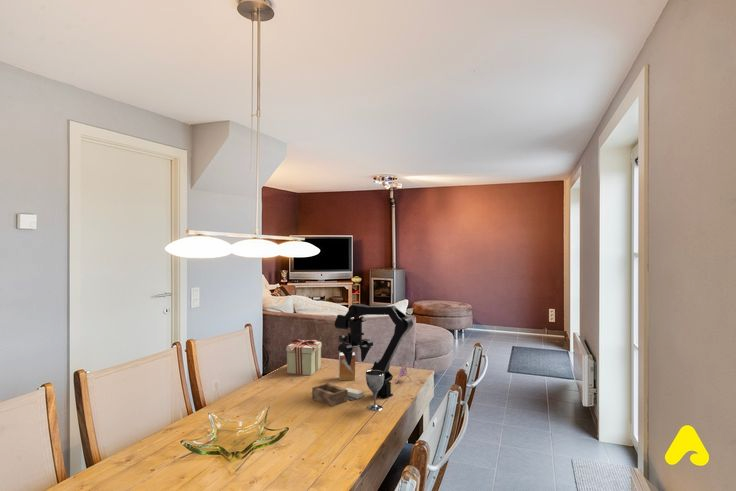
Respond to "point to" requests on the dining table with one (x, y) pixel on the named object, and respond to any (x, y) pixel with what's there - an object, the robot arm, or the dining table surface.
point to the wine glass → (374, 386)
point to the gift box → (303, 357)
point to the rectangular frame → (329, 394)
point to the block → (354, 393)
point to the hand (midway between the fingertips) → (355, 363)
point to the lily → (403, 372)
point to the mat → (352, 398)
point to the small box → (346, 368)
